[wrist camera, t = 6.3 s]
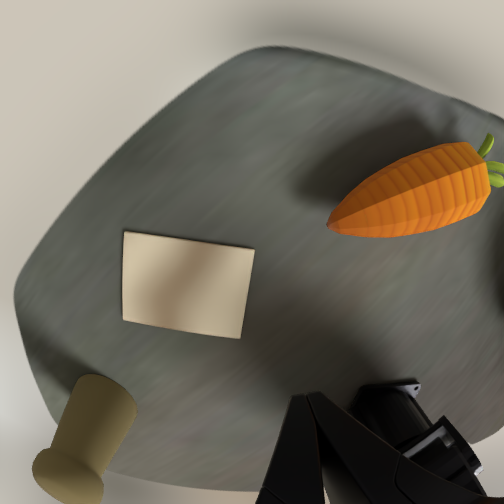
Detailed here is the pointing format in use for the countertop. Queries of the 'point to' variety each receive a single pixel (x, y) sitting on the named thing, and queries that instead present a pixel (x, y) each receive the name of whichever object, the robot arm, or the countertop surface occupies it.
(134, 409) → the cork
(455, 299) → the countertop surface
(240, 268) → the beige rectangular sheet
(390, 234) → the carrot
